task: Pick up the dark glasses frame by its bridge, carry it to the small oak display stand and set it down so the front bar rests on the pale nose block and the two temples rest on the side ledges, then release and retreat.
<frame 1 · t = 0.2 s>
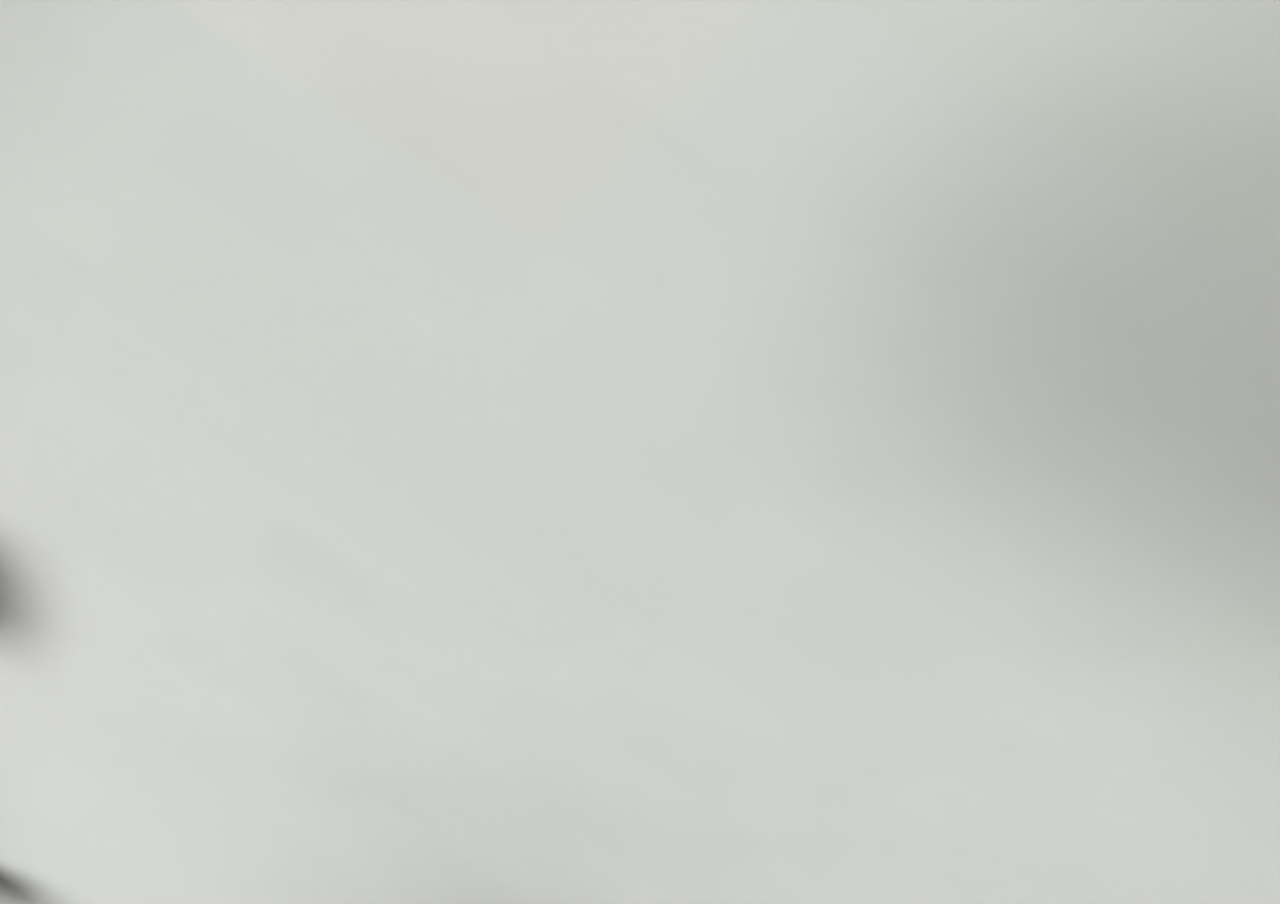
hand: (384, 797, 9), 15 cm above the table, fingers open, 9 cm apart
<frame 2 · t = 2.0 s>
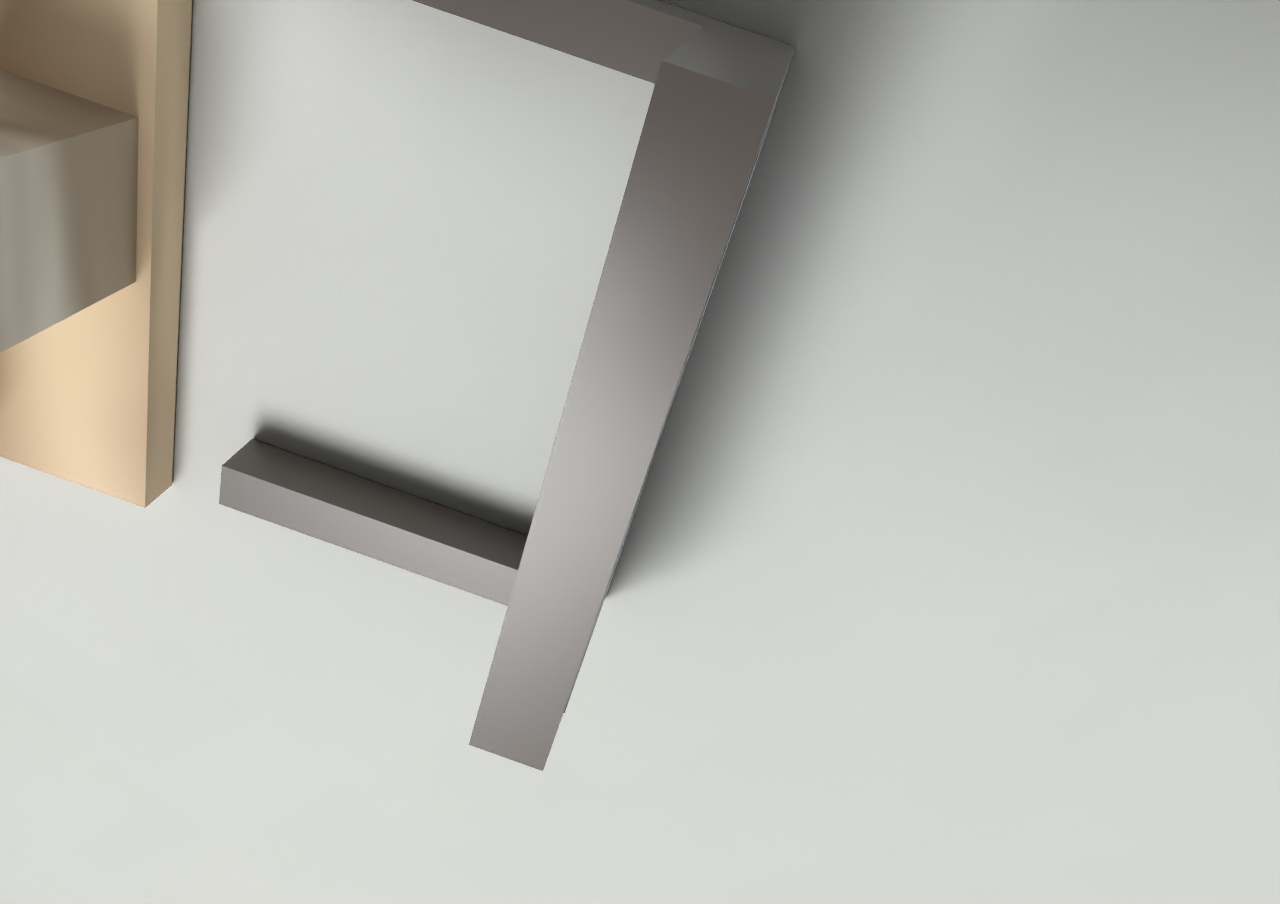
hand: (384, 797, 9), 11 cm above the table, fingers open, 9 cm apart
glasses: (649, 356, 19), on the table
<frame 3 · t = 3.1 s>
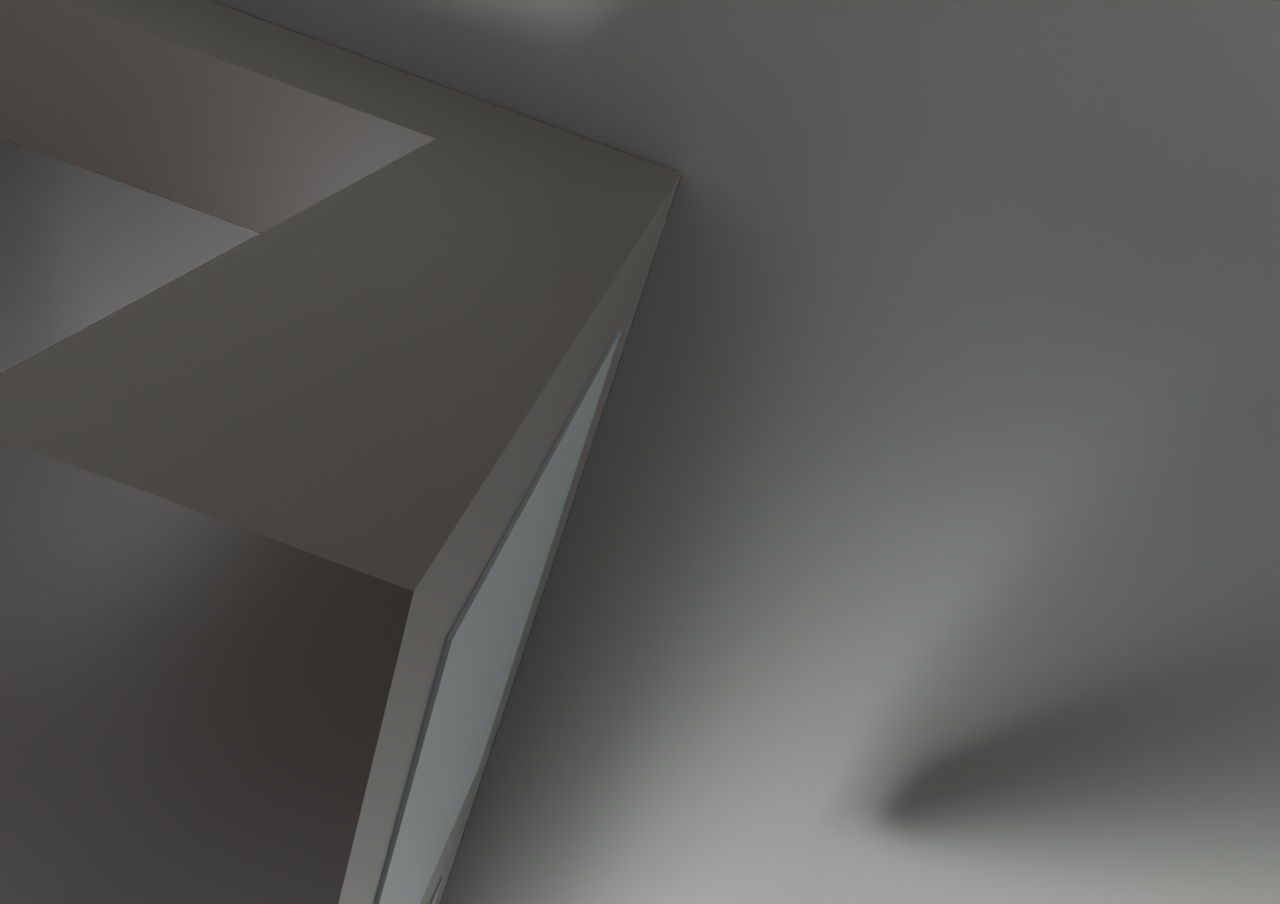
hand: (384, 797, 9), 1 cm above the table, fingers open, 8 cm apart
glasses: (430, 713, 10), on the table
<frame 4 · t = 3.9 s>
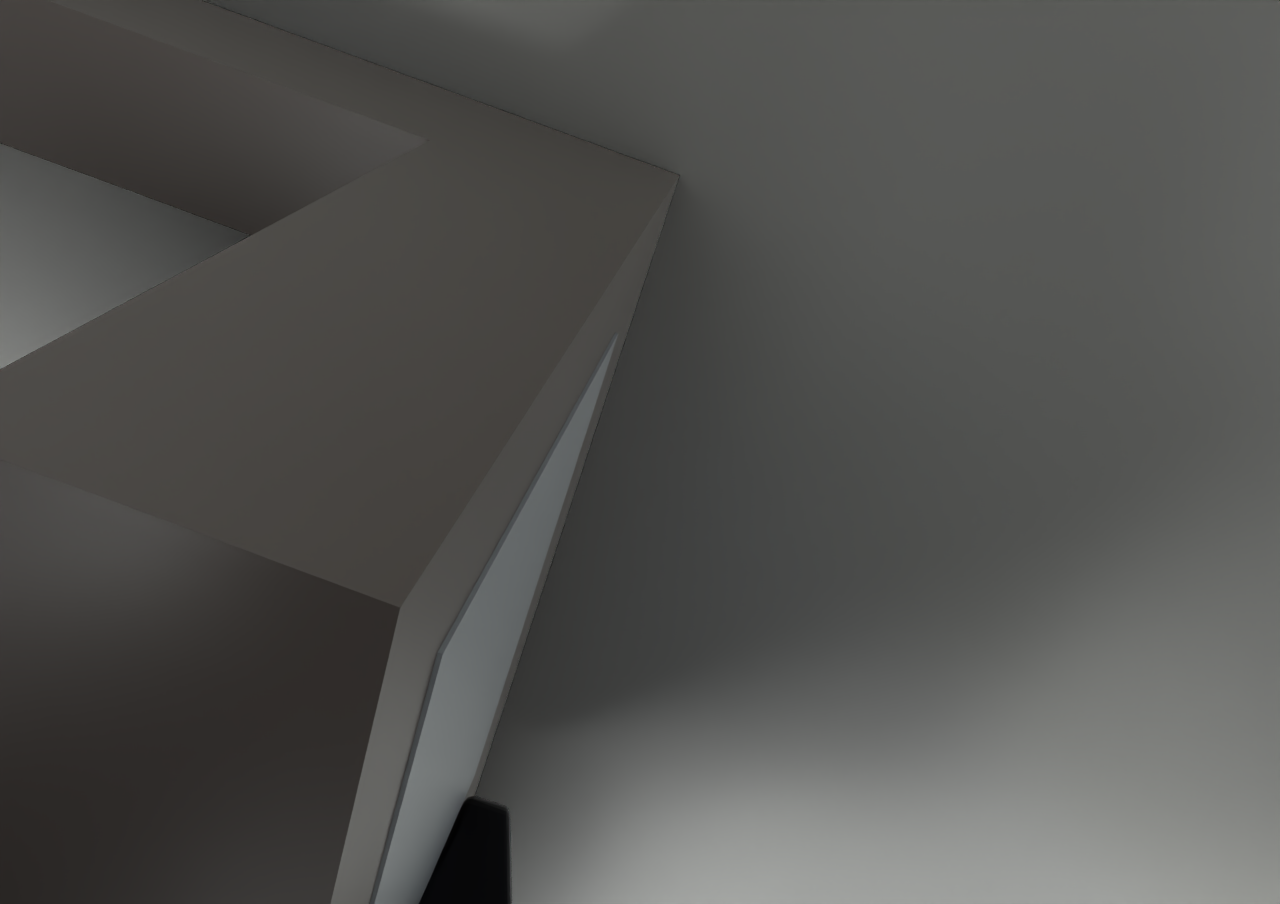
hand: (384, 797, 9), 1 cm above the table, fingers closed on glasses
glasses: (426, 720, 10), on the table, touching gripper
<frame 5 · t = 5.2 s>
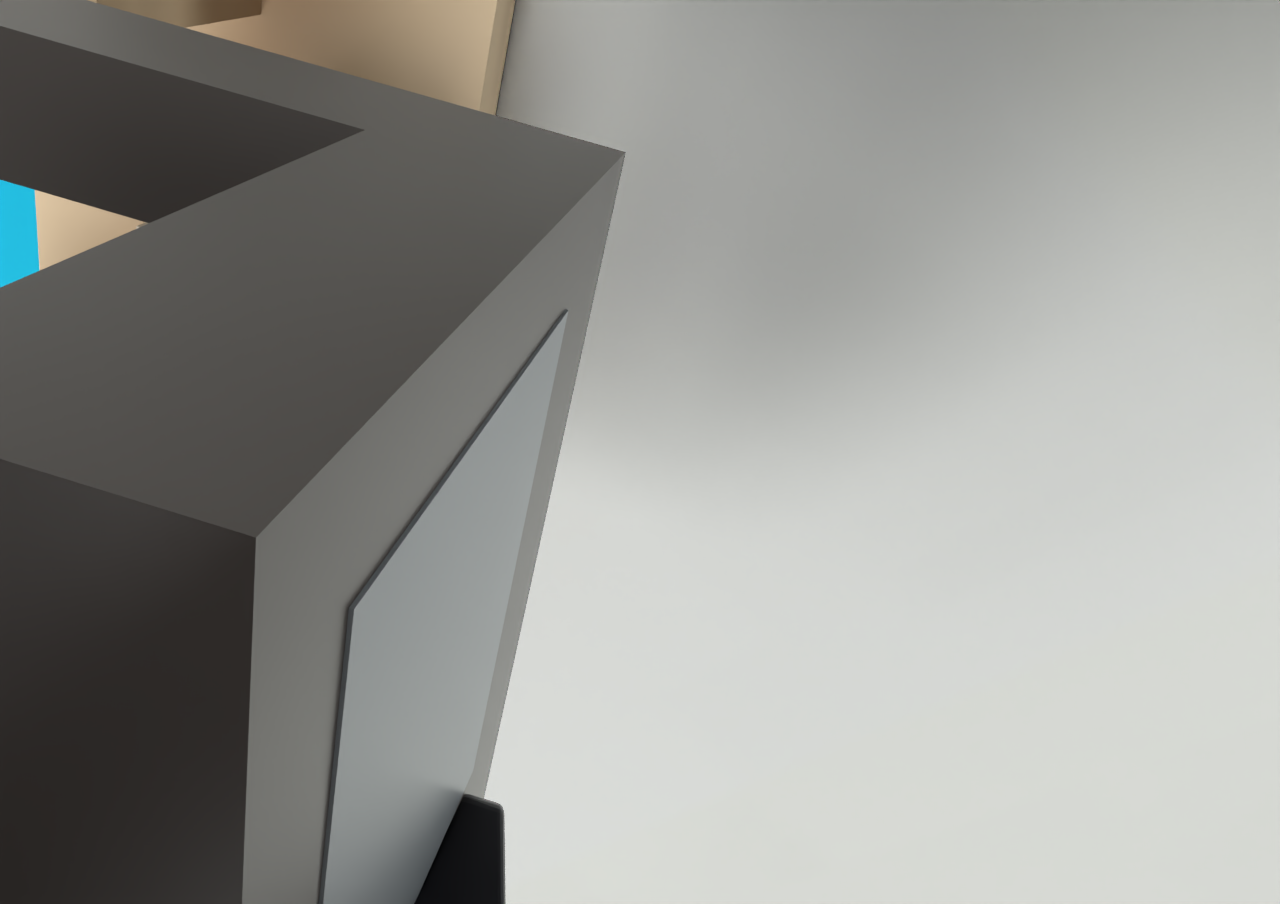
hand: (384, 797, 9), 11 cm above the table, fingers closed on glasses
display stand: (266, 222, 19), on the table
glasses: (430, 721, 10), point 10 cm above the table, touching gripper
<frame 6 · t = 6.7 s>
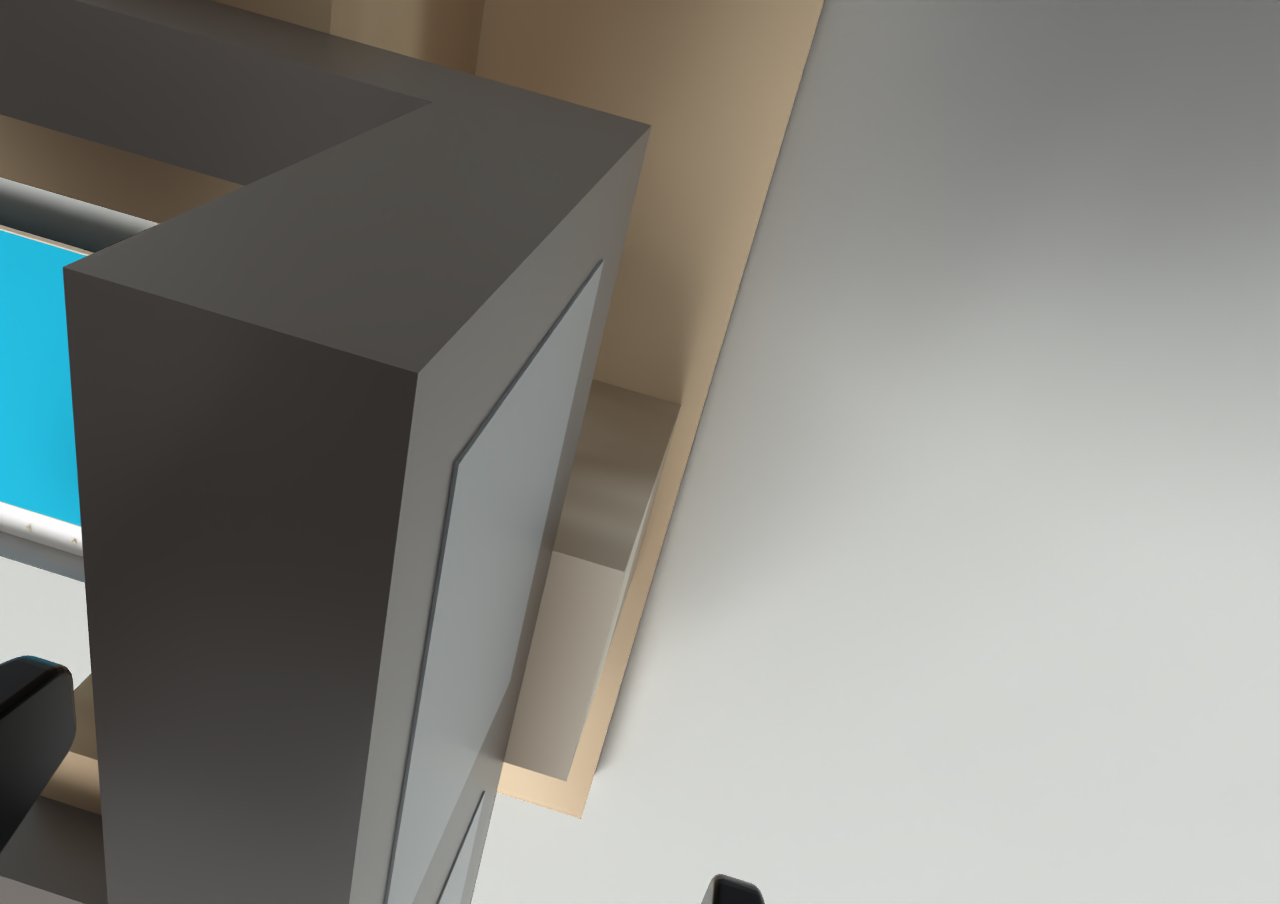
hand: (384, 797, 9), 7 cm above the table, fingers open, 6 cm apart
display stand: (437, 399, 15), on the table
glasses: (465, 648, 11), point 5 cm above the table, touching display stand
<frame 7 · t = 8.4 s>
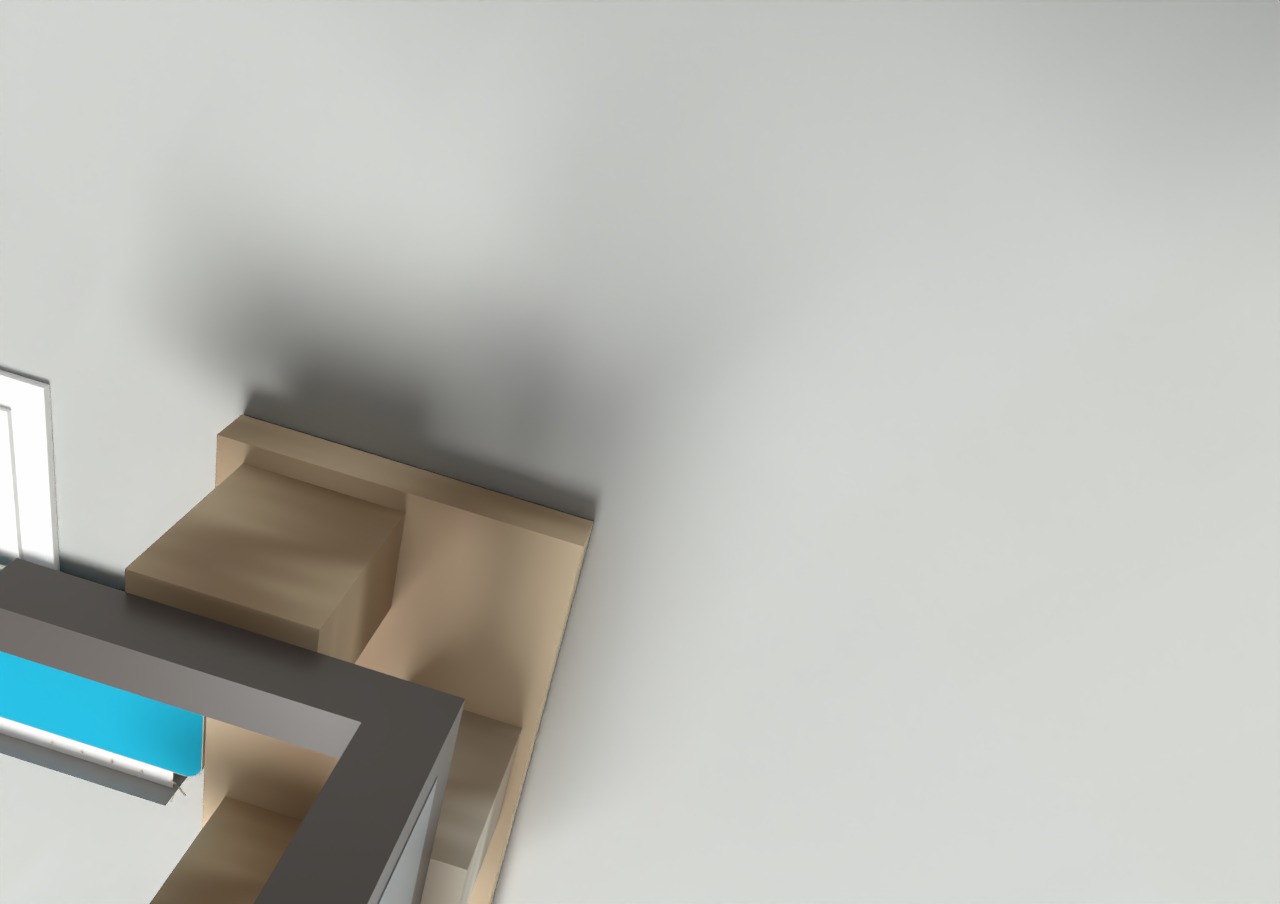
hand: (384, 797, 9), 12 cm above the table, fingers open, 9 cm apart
phone stand: (15, 554, 26), on the table
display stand: (380, 701, 25), on the table
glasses: (386, 899, 20), point 5 cm above the table, touching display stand
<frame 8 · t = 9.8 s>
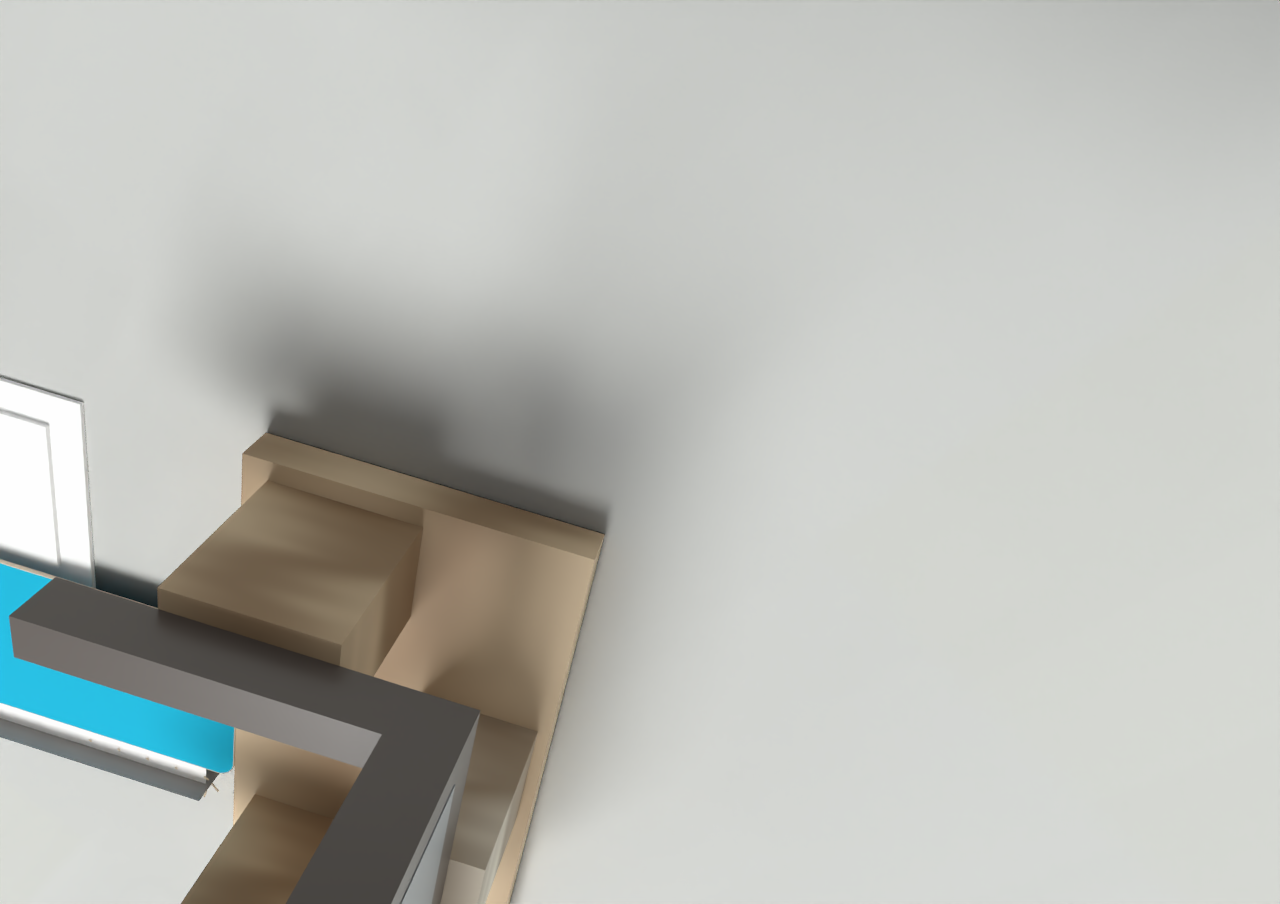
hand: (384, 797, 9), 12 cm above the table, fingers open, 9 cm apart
phone stand: (53, 561, 27), on the table
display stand: (402, 704, 26), on the table
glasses: (408, 897, 21), point 5 cm above the table, touching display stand
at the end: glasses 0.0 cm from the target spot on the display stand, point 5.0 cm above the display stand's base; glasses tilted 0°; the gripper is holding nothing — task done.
